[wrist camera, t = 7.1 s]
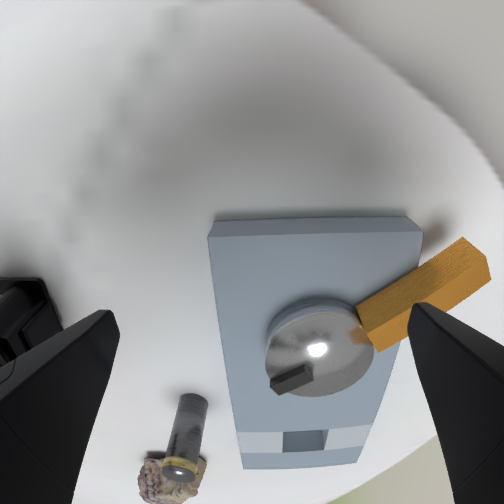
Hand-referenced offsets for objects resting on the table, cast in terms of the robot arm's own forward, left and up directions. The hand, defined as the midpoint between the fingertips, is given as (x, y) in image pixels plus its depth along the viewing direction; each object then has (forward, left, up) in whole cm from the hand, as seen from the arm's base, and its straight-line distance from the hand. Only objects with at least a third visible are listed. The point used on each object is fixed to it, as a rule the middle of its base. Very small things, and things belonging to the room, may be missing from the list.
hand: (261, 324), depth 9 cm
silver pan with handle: (+6, -6, -8) cm, 12 cm away
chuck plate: (+3, -14, -11) cm, 18 cm away
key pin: (-7, -18, -11) cm, 22 cm away
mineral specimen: (-13, -33, -11) cm, 37 cm away
